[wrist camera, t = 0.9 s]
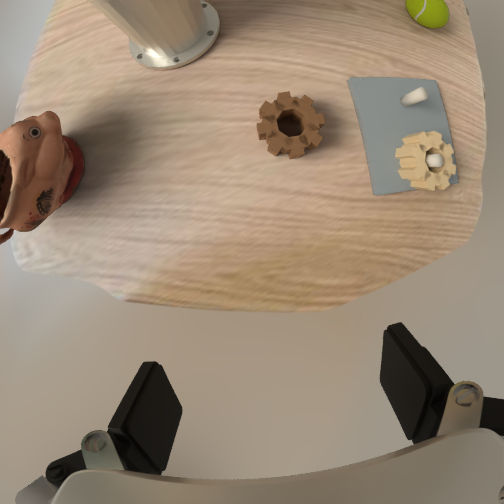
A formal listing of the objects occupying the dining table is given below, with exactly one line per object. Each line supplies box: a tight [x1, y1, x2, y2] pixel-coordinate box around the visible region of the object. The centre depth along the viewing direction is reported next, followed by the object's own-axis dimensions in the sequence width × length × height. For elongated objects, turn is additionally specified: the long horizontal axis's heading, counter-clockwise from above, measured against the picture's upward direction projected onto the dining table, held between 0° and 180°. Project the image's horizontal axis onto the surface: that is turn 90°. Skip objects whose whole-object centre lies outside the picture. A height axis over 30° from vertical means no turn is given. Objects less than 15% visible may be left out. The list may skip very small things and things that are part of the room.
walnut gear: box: [257, 92, 325, 159], centre depth 28 cm, size 7×7×4 cm
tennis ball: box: [406, 0, 449, 28], centre depth 20 cm, size 7×7×7 cm
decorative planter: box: [0, 111, 84, 244], centre depth 25 cm, size 20×12×14 cm, turn 144°
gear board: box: [347, 77, 458, 195], centre depth 26 cm, size 15×14×6 cm
